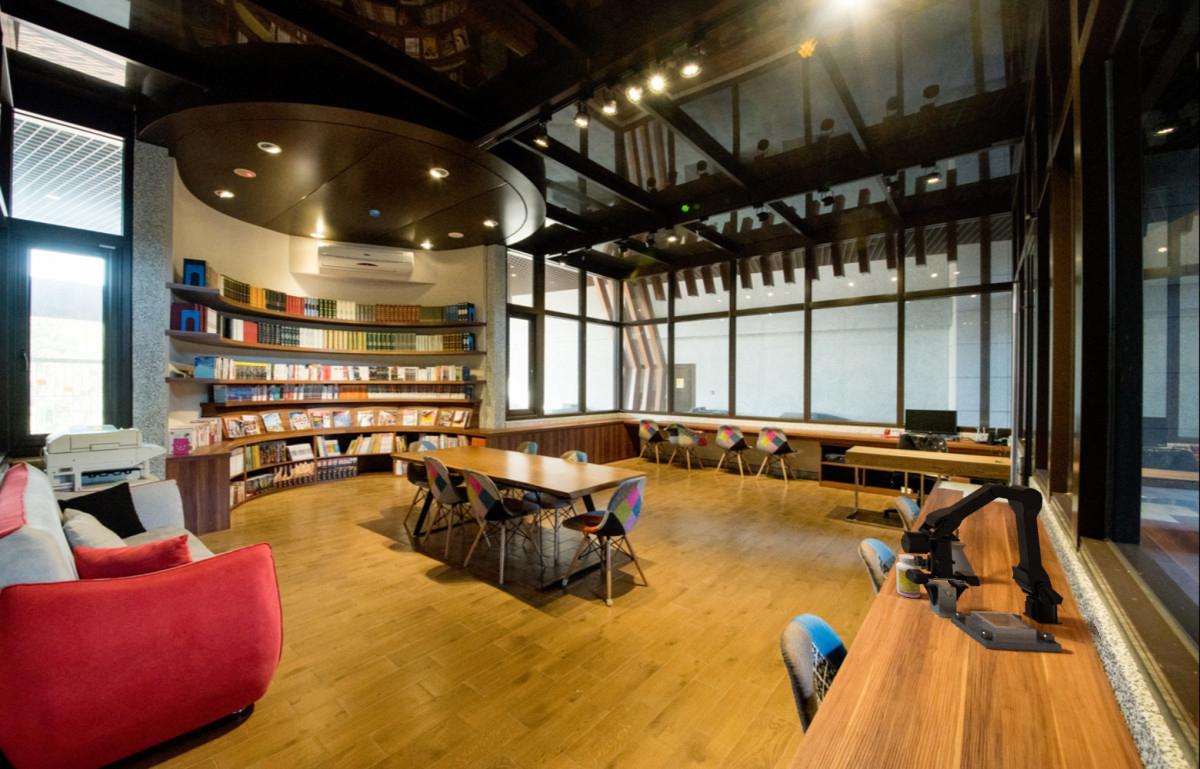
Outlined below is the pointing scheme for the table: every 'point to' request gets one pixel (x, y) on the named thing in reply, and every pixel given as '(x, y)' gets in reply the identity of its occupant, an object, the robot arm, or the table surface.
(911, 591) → the supplement bottle
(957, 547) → the coffee pot
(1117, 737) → the table surface
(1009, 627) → the square hole base plate
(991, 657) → the table surface
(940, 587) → the brushed metal square peg
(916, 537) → the robot arm
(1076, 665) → the table surface
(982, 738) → the table surface
